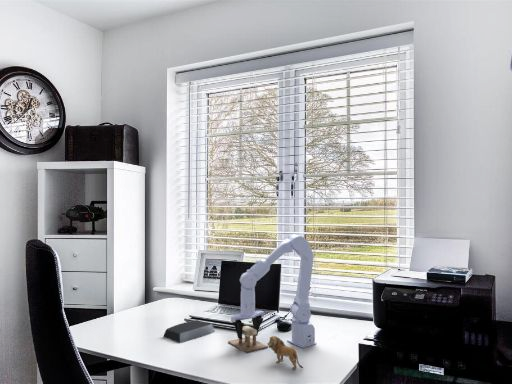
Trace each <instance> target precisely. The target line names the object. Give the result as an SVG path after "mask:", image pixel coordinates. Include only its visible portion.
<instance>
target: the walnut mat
mask: <svg viewBox="0 0 512 384" xmlns="http://www.w3.org/2000/svg"><path fill="white" fill-rule="evenodd" d="M227 343H228V344H229V345H231V344H232V346H233V347H235V348H237V349H238V348H239V350H240V351H242V352H243V353H245V352H246V354H248V353H252V352H253V353H254V352H257V350H258V351H261V349H262V350H265V348H266V349H269V346H268V345H265V343H262V342H259V340H256V345H255V346H253V337H250V347H246V341H245V337H242V343H239V338H237V339H233V340H228V342H227Z"/></svg>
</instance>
